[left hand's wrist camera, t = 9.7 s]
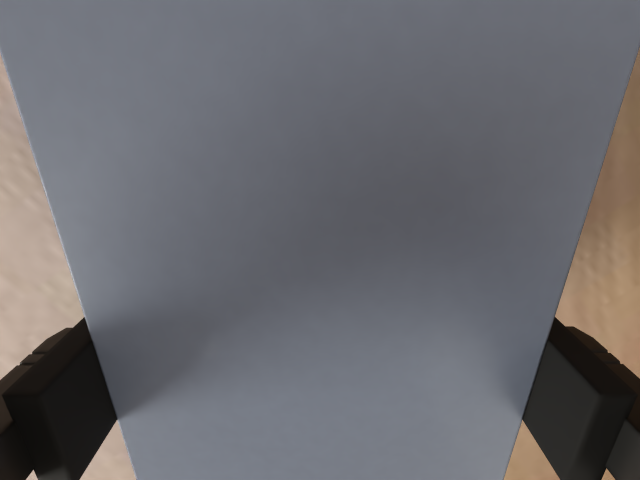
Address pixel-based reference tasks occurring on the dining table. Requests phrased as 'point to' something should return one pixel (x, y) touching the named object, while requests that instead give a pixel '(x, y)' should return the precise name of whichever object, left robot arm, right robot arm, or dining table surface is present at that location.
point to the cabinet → (319, 217)
